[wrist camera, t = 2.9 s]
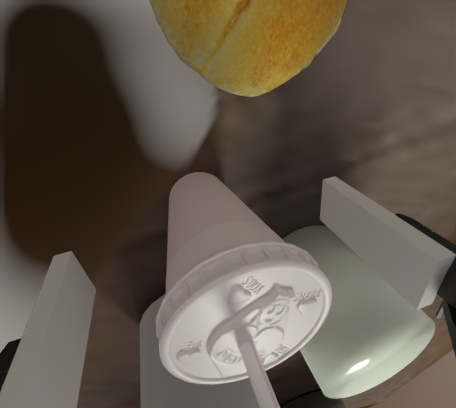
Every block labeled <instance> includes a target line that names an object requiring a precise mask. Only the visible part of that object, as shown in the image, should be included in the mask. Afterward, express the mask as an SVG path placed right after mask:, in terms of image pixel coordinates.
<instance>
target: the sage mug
mask: <svg viewBox="0 0 456 408" xmlns="http://www.w3.org/2000/svg"><path fill="white" fill-rule="evenodd" d="M282 240H283V241H284V242H285V243H291V244H293V245H295V246H297V247H299V248H301V249H303V250H305V251H307V252H308V253H309V254H310V255H311V256H312V257H313V259H314V260H315V261H316V262H317V264H318V267H319V269H320V270H321V271H322V272H323V273H324V274H325V276H326V277H327V278H328V280H329V282H330V285H331V288H332V301H331V306H330V309H329V312H328V315H327V317H326V319H325V321H324V322H323V324H322V326H321V327H320V328H319V330H318V331H317V332H316V334H315V335H314V336H313V337H312V338H311V339H310V340H309V341H308V342H307V343H306V344H305V345H304V346H303V347H302V348H301V349H299V350H300V352H301V354H302V355H303V357H304V359H305V361H306V363H307V365H308V366H309V368H310V370H311V372H312V374H313V376H314V377H315V379H316V381H317V383H318V385H319V387H320V389H321V390H322V392H323V394H324V395H325V396H326V397H329V398H345V397H349V396H353V395H356V394H359V393H361V392H364V391H366V390H368V389H370V388H372V387H374V386H376V385H378V384H380V383H382V382H384V381H385V380H387V379H388V378H390V377H392V376H393V375H395V374H396V373H397V372H399V371H400V370H401V369H403V368H404V367H405V366H407V365H408V364H409V363H410V362H411V361H412V360H414V359H415V358H416V357H417V356H418V355H419V354H420V353H421V352H422V350H423V349H424V348H425V347H426V346H427V344H428V343H429V341H430V340H431V338H432V336H433V334H434V331H435V323H434V321H433V320H432V319H431V318H430V317H429V316H427V315H426V314H425V313H424V312H423V311H422V310H421V309H418V310H416V309H415V308H414V307H413V306H412V305H411V304H409V303H408V302H407V301H406V300H405V299H404V298H403V297H402V296H401V295H400V294H399V293H398V292H397V291H396V290H395V289H393V288H392V287H391V286H390V285H389V284H388V283H387V282H386V281H385V280H384V279H383V278H382V277H381V276H380V275H379V274H377V273H376V272H375V271H374V270H373V269H372V268H371V267H370V266H369V265H368V264H367V263H366V262H365V261H364V260H363V259H361V258H360V257H359V256H358V255H357V254H356V253H355V252H354V251H353V250H352V249H351V248H350V247H349V246H348V245H347V244H345V243H344V242H343V241H342V240H341V239H340V238H339V237H338V236H337V235H336V234H335V233H334V232H333V231H332V230H331V229H329V228H328V227H327V226H322V225H315V226H308V227H304V228H301V229H299V230H297V231H294V232H293V233H291V234H289V235H287V236H286V237H285V238H283V239H282Z"/></svg>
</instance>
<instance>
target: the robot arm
mask: <svg viewBox="0 0 456 408" xmlns="http://www.w3.org/2000/svg"><path fill="white" fill-rule="evenodd" d="M320 220H321V221H322V222H323V223H324V224H325V225H326V226H327V227H328V228H329V229H331V230H332V231H333V232H334V233H335V234H336V235H337V236H338V237H339V238H340V239H341V240H342V241H343V242H344V243H345V244H347V245H348V246H349V247H350V248H351V249H352V250H353V251H354V252H355V253H356V254H357V255H358V256H359V257H360V258H361V259H363V260H364V261H365V262H366V263H367V264H368V265H369V266H370V267H371V268H372V269H373V270H374V271H375V272H376V273H377V274H379V275H380V276H381V277H382V278H383V279H384V280H385V281H386V282H387V283H388V284H389V285H390V286H391V287H392V288H393V289H395V290H396V291H397V292H398V293H399V294H400V295H401V296H402V297H403V298H404V299H405V300H406V301H407V302H408V303H409V304H411V305H412V306H413V307H414V308H415V309H416V310H418V309H420V308H423V307H425V306H428V305H430V304H432V303H433V301H434V299H435V297H436V295H437V294H438V295H439V296H440V297H442V298H443V299H444V300H443V302H442V304H441V306H440V307H439V309H438V311H437V313H436V318H439V319H440V317H441V315H442V313H443V312H444V315H445V320H446V322H447V326H448V330H449V334H450V337H451V341H452V345H453V349H454V352H455V356H456V245H454V244H453V243H451V242H450V241H448V240H446V239H445V238H443V237H441V236H440V235H438V234H437V233H435V232H432V230H430V229H429V228H427V227H425V226H423V225H422V224H421V223H419V222H417V221H416V220H414V219H412V218H410V217H407V216H405V215H402V214H399V213H398V214H395V215H394V214H393V213H391V212H390V211H388V210H386V209H385V208H383V207H382V206H380V205H379V204H377V203H376V202H374V201H373V200H371V199H370V198H368V197H366V196H365V195H363V194H362V193H360V192H359V191H357V190H356V189H354V188H353V187H351V186H349V185H348V184H346V183H345V182H343V181H342V180H340V179H339V178H337V177H336V176H334V177H330V178H327V179H323V185H322V197H321V210H320ZM95 293H96V289H95V287H94V285H93V284H92V282H91V281H90V279H89V278H88V276H87V274H86V273H85V271H84V270H83V268H82V267H81V265H80V263H79V262H78V260H77V259H76V257H75V256H74V254H73V253H72V251H69V252H66V253H62V254H59V255H56V256H54V257H53V259H52V262H51V264H50V267H49V269H48V272H47V274H46V277H45V280H44V282H43V285H42V287H41V290H40V292H39V295H38V297H37V300H36V302H35V305H34V308H33V310H32V313H31V315H30V318H29V321H28V323H27V326H26V328H25V331H24V333H23V336H22V338H21V339H17V340H15V341H11V342H9V343H8V344H7V345H6V347H5V348H4V349H3V350H2V352H1V353H0V408H77V403H78V397H79V390H80V384H81V378H82V372H83V366H84V360H85V354H86V348H87V342H88V336H89V329H90V323H91V317H92V311H93V305H94V299H95ZM281 408H346V407H345V405H344V403H343V402H342V400H341V398H329V397H326V396H325V395H324V394H323V392H322V390H321V391H316V392H313V393H309V394H307V395H304V396H301V397H299V398H297V399H295V400H293V401H291V402H289V403H287V404H286V405H284V406H282V407H281Z"/></svg>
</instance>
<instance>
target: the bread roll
mask: <svg viewBox="0 0 456 408" xmlns="http://www.w3.org/2000/svg"><path fill="white" fill-rule="evenodd" d="M346 2H347V0H150V3H151V5H152V8H153V11H154V13H155V16H156V19H157V22H158V23H159V25H160V26H161V29H162V31H163V32H164V34H165V36H166V38H167V40H168V42H169V43H170V45H171V46H172V48H173V49H174V51H175V52H176V54H177V55H178V56H179V58H180V59H181V60H182V61H184V62H185V63H186V64H187V65H188V66H189V67H191V68H192V69H194V70H195V71H197V72H198V73H199V74H200V75H201V76H202V77H204V78H205V79H206V80H208V81H209V82H210V83H211V84H213V85H215V86H216V87H218V88H220V89H222V90H224V91H227V92H229V93H232V94H236V95H240V96H248V97H254V96H258V95H261V94H264V93H267V92H269V91H271V90H272V89H274V88H276V87H278V86H280V85H281V84H283V83H285V82H286V81H287V80H289V79H291V78H292V77H293V76H295V75H297V74H298V73H300V72H301V70H303V69H304V68H306V67H308V66H309V65H310V63H311V61H312V60H313V58H314V57H315V56H316V55H318V54H319V52H320V51H321V50H322V49H323V48H324V46H325V45H326V44H327V42H328V41H329V40H330V39H331V38H332V37H333V35H334V34H335V33H336V31H337V29H338V27H339V25H340V22H341V16H342V14H343V11H344V9H345V5H346Z"/></svg>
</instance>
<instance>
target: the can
mask: <svg viewBox="0 0 456 408" xmlns="http://www.w3.org/2000/svg"><path fill="white" fill-rule="evenodd" d="M165 296H166V294H164V295H163V296H161V297H160V298H159V299H158V300H156V301H155V302H153V303H152V304H151V305H150V306H149V308H148V309H147V310H146V311H145V312H144V313H143V316H142V319H141V322H140V393H141V408H259V405H258V402H257V399H256V396H255V393H254V390H253V388H252V385H251V382H250V379H249V377H248V378H245V379H242V380H239V381H234V382H230V383H223V384H214V385H211V384H196V383H190V382H186V381H184V380H182V379H179V378H177V377H175V376H174V375H172V374H171V373H170V372H169V371H168V370H167V369H166V368H165V367H164V365H163V363H162V361H161V358H160V354H159V340H158V338H157V336H156V316H157V314H158V311H159V308H160V305H161V303H162V300H163V299H164V297H165Z"/></svg>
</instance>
